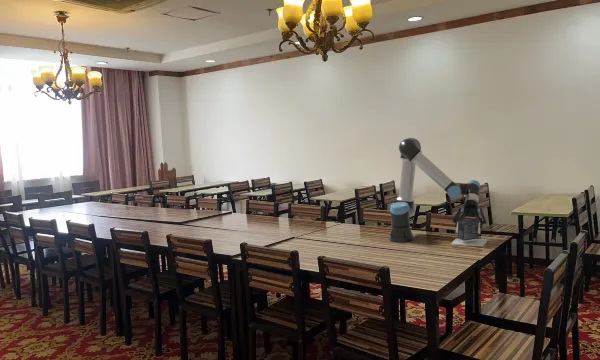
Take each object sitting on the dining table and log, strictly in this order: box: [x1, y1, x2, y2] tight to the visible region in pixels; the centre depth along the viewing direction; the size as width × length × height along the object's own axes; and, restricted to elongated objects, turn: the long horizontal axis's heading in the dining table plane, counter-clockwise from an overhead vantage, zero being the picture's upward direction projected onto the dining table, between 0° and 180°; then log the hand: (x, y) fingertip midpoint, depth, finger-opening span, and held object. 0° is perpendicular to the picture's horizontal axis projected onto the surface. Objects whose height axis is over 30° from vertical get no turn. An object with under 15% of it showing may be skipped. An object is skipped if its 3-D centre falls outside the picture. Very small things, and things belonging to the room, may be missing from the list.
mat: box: [450, 237, 488, 248], centre depth 283 cm, size 18×14×1 cm
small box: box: [456, 218, 479, 241], centre depth 281 cm, size 11×6×10 cm, turn 107°
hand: (467, 232), depth 280 cm, fingers closed on small box, 12 cm apart
